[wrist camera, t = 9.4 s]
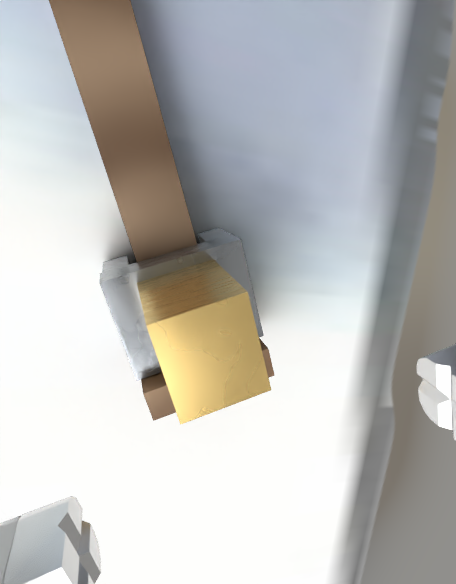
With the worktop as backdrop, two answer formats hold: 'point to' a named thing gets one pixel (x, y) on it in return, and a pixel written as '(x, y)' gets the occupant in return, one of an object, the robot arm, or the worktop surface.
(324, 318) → the worktop surface
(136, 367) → the slider
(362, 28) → the worktop surface
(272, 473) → the worktop surface
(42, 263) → the worktop surface
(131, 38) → the rail
